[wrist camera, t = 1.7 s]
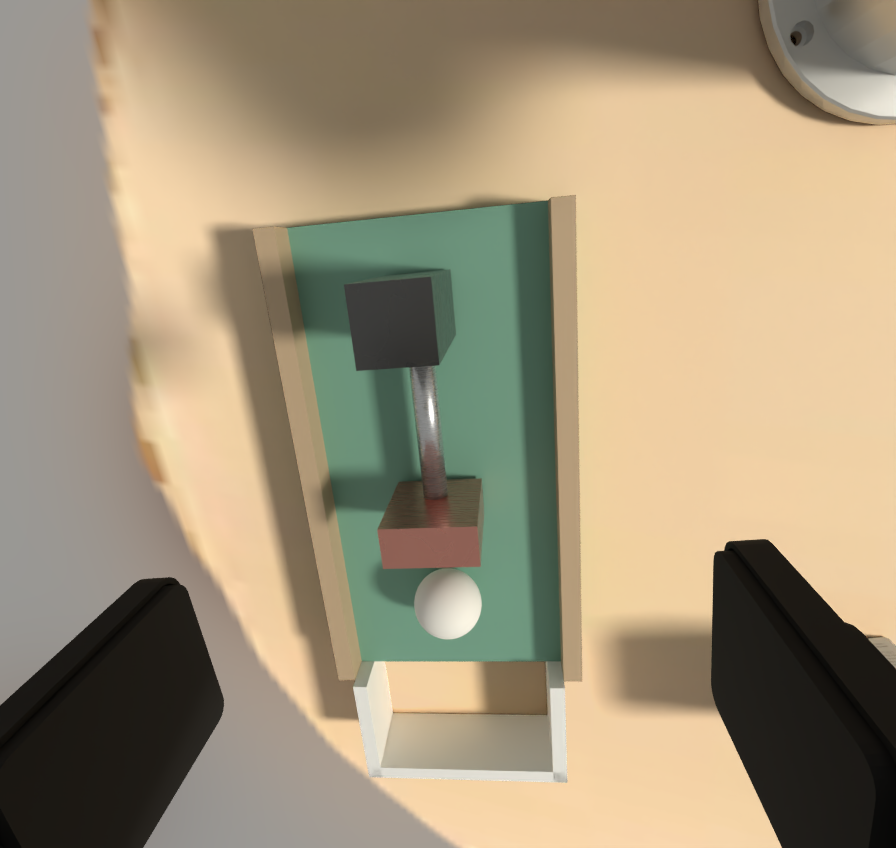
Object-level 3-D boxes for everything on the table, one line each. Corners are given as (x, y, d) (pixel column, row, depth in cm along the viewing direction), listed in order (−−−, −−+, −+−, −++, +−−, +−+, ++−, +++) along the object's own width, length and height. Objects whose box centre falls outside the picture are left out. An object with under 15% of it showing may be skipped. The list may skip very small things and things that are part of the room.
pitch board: (283, 231, 26) (252, 228, 23) (565, 202, 25) (575, 194, 21) (354, 638, 34) (338, 680, 31) (574, 637, 32) (582, 681, 29)
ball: (416, 556, 29) (405, 595, 26) (480, 554, 29) (477, 594, 26) (423, 609, 30) (412, 655, 27) (484, 609, 30) (482, 654, 27)
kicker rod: (371, 276, 24) (323, 286, 18) (465, 267, 24) (451, 274, 17) (402, 515, 28) (372, 596, 22) (484, 513, 28) (478, 595, 21)
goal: (369, 638, 34) (352, 687, 30) (557, 637, 33) (564, 688, 29) (383, 721, 36) (369, 776, 32) (560, 724, 35) (567, 782, 31)
